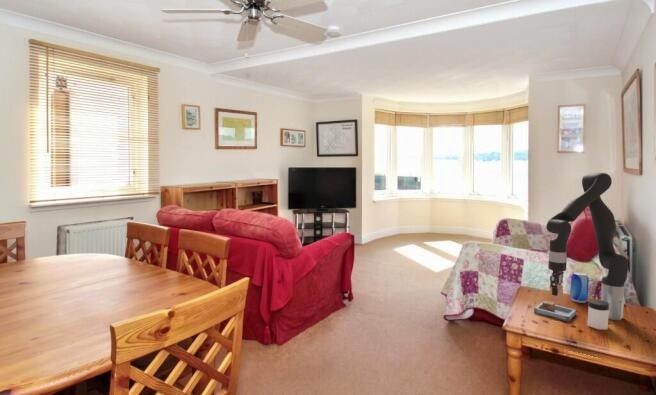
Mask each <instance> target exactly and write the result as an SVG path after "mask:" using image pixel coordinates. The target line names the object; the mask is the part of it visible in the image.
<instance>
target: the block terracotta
mask: <svg viewBox="0 0 656 395" xmlns="http://www.w3.org/2000/svg"><path fill="white" fill-rule="evenodd" d="M554 285H555V284H554ZM563 294H564V285H563V284H562V285H558V294H557V296H555V295H552V287H551V286H550V285H549V296H555V297H559V298H560V297H562V296H563Z"/></svg>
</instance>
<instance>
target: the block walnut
mask: <svg viewBox="0 0 656 395" xmlns="http://www.w3.org/2000/svg"><path fill="white" fill-rule="evenodd" d="M542 302H543V310H547V311H551V312H554V311H555V305H556V302H554V301H549V300H544V301H542Z"/></svg>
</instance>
